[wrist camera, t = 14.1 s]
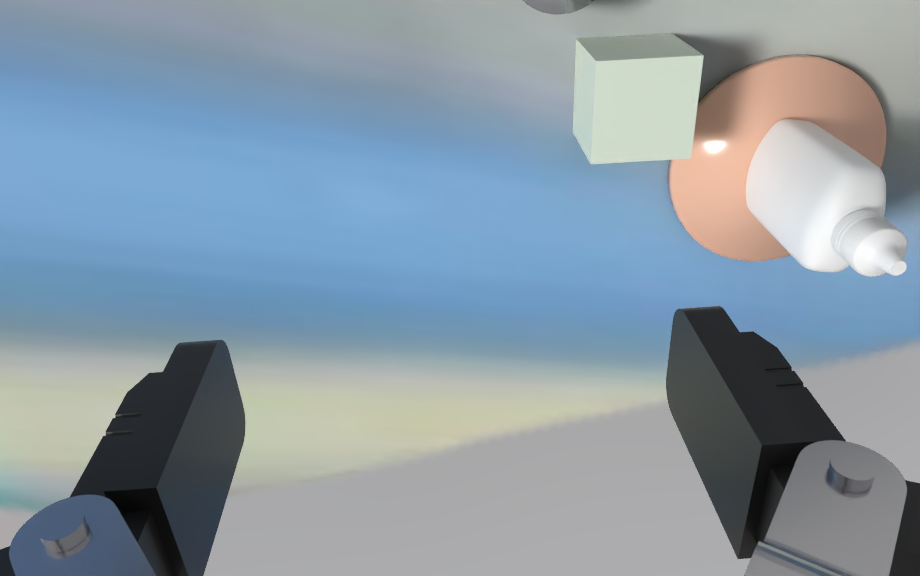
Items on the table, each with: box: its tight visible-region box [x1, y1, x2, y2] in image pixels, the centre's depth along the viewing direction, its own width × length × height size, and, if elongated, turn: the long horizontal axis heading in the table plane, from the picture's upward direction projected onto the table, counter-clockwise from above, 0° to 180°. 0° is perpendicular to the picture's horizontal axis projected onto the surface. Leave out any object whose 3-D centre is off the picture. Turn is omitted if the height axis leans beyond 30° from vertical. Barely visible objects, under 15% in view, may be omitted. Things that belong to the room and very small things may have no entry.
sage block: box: [573, 33, 704, 164], centre depth 37 cm, size 5×5×5 cm
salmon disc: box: [668, 55, 887, 261], centre depth 41 cm, size 12×12×1 cm
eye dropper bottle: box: [746, 119, 908, 276], centre depth 36 cm, size 4×6×12 cm
